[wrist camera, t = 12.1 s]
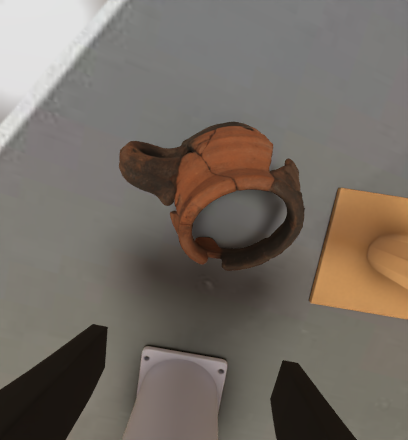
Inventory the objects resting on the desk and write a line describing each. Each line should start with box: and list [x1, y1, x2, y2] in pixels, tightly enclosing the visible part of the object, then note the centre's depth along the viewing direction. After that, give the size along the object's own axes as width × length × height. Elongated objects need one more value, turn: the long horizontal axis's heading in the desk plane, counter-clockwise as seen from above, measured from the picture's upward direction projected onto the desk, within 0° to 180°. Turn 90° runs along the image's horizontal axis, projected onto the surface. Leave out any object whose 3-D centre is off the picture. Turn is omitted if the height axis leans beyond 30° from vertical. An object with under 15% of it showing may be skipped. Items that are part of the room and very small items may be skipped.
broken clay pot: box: [119, 122, 305, 271], centre depth 15 cm, size 12×10×8 cm
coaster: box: [309, 188, 408, 319], centre depth 17 cm, size 10×10×1 cm
